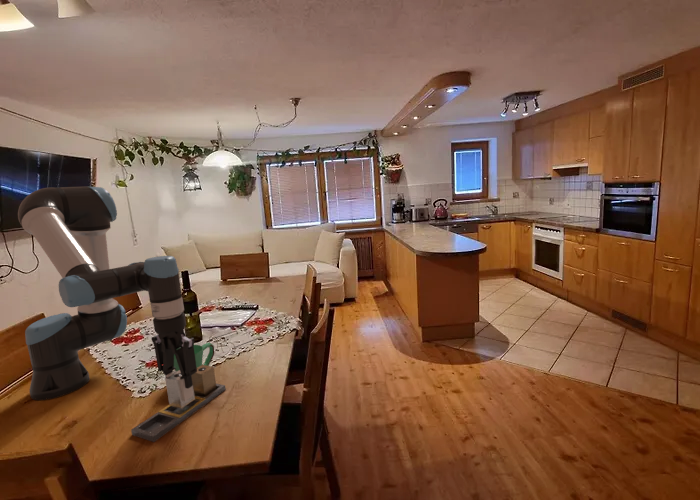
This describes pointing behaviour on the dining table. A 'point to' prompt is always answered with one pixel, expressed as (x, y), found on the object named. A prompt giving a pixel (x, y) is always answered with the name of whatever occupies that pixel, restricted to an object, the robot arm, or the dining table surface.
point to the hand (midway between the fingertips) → (181, 396)
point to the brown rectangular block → (204, 381)
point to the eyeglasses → (230, 342)
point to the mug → (199, 355)
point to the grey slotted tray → (172, 417)
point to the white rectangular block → (176, 391)
